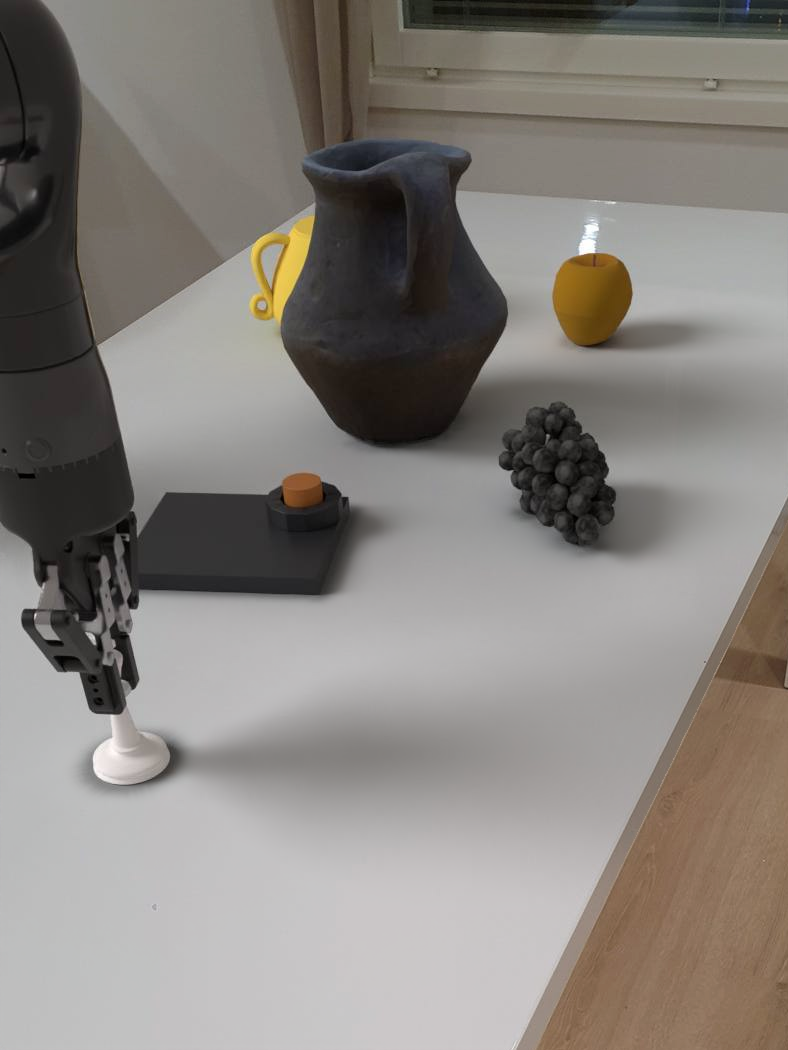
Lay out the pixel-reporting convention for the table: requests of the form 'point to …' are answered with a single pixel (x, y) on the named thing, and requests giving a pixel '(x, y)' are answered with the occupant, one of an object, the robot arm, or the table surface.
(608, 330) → the apple
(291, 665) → the table surface
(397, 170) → the pitcher
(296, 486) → the button
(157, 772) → the chess piece
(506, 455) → the fruit
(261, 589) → the scale
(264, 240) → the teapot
